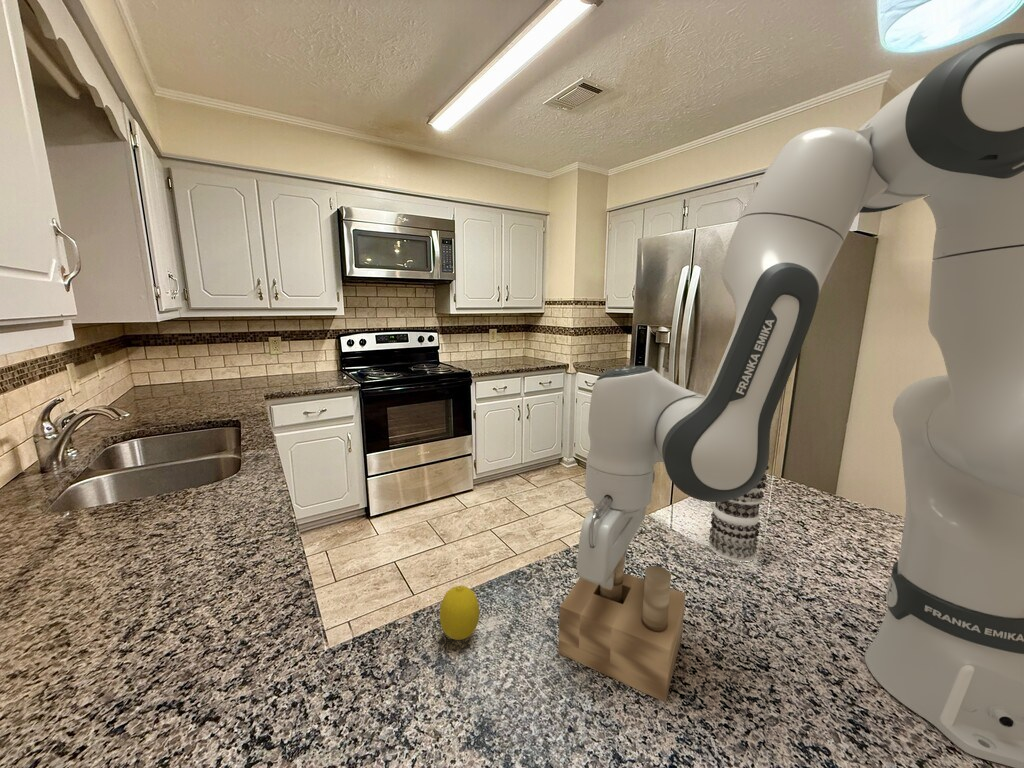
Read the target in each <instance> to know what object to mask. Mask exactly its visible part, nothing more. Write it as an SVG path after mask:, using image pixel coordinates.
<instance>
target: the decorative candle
mask: <svg viewBox="0 0 1024 768" xmlns="http://www.w3.org/2000/svg"><path fill="white" fill-rule="evenodd" d="M768 470H770V466H769V465H768V466H767V469H766V471H768ZM767 479H768V477H767V475H766V473H765V474H764V476H763V478H762V479H761V481H760V482H759V483H758V484H757V485H756V486H755V487H754V488H753V489H752V490H751V491H749V492H748V493H746V494H745V495H743V496H741V497H739V498H736V499H733V500H729V501H724V502H714V504H713V511H712V513H710V516H711V520H710V524H711V527H710V528H709V534H710V535H709V536H708V539H709V543H708V546H709V545H710V548H711V549H712V550H713V551H714V552H715V553H716V554H718V555H720V556H721V557H724V558H726V559H725V560H727V559H729V560H728V561H730V560H734V561H739V562H740V561H741V562H745V561H751V560H754V559H755V558H757V552H758V551H757V550H758V549H759V548H758V545H759V539H758V538H757V537H759V534H760V531H759V529H760V528H761V523H760V522H759V521H760V511H759V510H760V504H762V502H763V500H764V497H765V495H764V494H765V493H764V492H763V491H761V490H762V489H765V488H766V486H767V483H765V482H764V481H766V480H767ZM710 548H709V549H710ZM716 554H715V555H716ZM718 555H717V556H718ZM720 556H719V557H720ZM721 557H720V558H721ZM724 558H723V559H724ZM755 560H756V559H755ZM734 561H733V562H734ZM739 562H738V563H739Z"/></svg>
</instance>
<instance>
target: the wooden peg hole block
mask: <svg viewBox="0 0 1024 768" xmlns="http://www.w3.org/2000/svg"><path fill="white" fill-rule="evenodd" d="M644 573H645V574H644V579H643V578H640V577H637V576H634V575H631V574H628V573H625V572H623V584H622V599H621V604H620V603H617V602H615V601H612V600H609V599H606V598H604V597H601V596H600V585H598V584H595V583H592V582H589V581H587V580H584V579H582V578H580V577H579V579H578V580H577V582H576V583H575V584H574V586H573V587H572V588H571V590H570V591H569V593H568V594H567V595H566V597H565V599H563V601H562V603H561V604H560V606H559V617H558V618H559V619H558V645H557V648H558V649H557V653H558V654H559V655H561V656H564V657H566V658H568V659H570V660H572V661H575V662H577V663H579V664H581V665H583V666H585V667H588V668H590V669H592V670H594V671H596V672H598V673H600V674H602V675H605V676H606V677H609V678H611V679H614V680H615V681H617V682H619V683H622V684H625V685H626V686H629V687H631V688H633V689H635V690H637V691H639V692H642V693H644V694H646V695H648V696H651V697H653V698H655V699H657V700H659V701H661V702H664V703H667V699H668V694H669V690H670V687H671V682H672V678H673V674H674V669H675V667H676V666H675V665H676V662H677V658H678V653H679V649H680V646H681V642H682V639H683V638H682V636H683V627H684V626H683V625H684V613H685V601H686V592H683V591H680V590H677V589H673V588H672V587H671V581H672V580H671V579H672V573H671V572H670V570H668V569H666V568H665V567H663V566H659V565H649V566H647V567H645V572H644Z"/></svg>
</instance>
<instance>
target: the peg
mask: <svg viewBox="0 0 1024 768" xmlns="http://www.w3.org/2000/svg"><path fill="white" fill-rule="evenodd" d="M624 554H625V553H624ZM624 554H623V556H622V558H621V559H620V561H619V563H618V564H617V566H616V568H615V569H614V573H616V579H615V580H616V582H615V585H614V586H613V588H612V589H611V590H608V589H606V588H603V587H601V586H600V596H601V597H604V598H606V599H609V600H612V601H615V602H617V603H620V604H621V599H622V584H623V573H624V568H625V567H624Z"/></svg>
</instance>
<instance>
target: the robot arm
mask: <svg viewBox="0 0 1024 768" xmlns="http://www.w3.org/2000/svg"><path fill="white" fill-rule="evenodd" d="M921 198H923V201H924V202H925V203H926V204H927V206H928V207H929V210H931V212H932V215H933V219H934V222H935V223H934V224H935V228H936V229H935V235H934V240H933V241H934V242H933V249H932V251H933V253H932V261H931V274H930V276H931V277H930V292H929V307H928V321H927V322H928V328H929V333H930V334H931V336H932V337H933V338H934V339H935V341H936V343H937V345H938V347H939V349H940V353H941V355H942V358H943V363H944V365H945V370H946V374H945V375H938V376H932V377H928V378H923V379H920V380H917V381H915V382H913V383H910V384H909V385H907V386H906V387H905V388H904V389H902V390H901V391H900V393H899V394H898V395H897V396H896V398H895V400H894V403H893V407H892V416H893V420H894V423H895V424H896V425H895V426H896V428H897V430H898V433H899V436H900V437H899V438H900V444H901V458H902V468H903V479H904V489H905V514H904V515H905V517H904V523H903V530H902V535H901V536H902V537H901V542H900V547H899V556H898V560H897V561H895V562H894V563H893V565H892V568H891V574H890V576H889V578H888V583H887V588H886V598H885V599H886V606H887V609H886V612H885V615H884V618H883V620H882V623H881V624H880V627H879V630H878V631H877V634H876V636H875V637H874V639H873V641H872V642H871V644H870V645H869V646H868V647H867V649H866V650H865V653H864V661H865V665H866V666H867V669H868V670H869V672H870V673H871V675H872V676H873V678H874V679H875V680H876V681H877V683H879V685H881V687H882V688H884V690H886V691H887V693H889V694H890V695H891V696H893V697H894V699H896V700H897V701H899V702H900V703H901V704H903V705H904V706H906V707H907V708H909V709H910V710H911V711H913V712H914V713H916V714H917V715H919V716H920V717H922V718H923V719H925V720H926V721H927V722H929V723H930V724H932V725H933V726H935V728H937V729H938V730H939V731H940V732H941V733H942V734H943V735H944V736H945V737H946V738H947V739H948V740H950V741H951V742H952V743H953V744H955V746H956V747H958V748H959V749H961V750H962V751H963V752H965V753H966V754H968V755H971V756H974V757H976V758H979V759H983V760H986V761H990V762H993V763H997V764H1001V765H1003V766H1006V767H1007V766H1008V767H1011V768H1024V32H1012V33H1006V34H1000V35H998V36H995V37H991V38H989V39H987V40H984V41H980V42H978V43H976V44H973V45H971V46H969V47H967V48H966V49H963V50H962V51H960V52H958V53H956V54H954V55H952V56H950V57H948V58H947V59H945V60H944V61H942V62H940V63H939V64H938V65H937V66H935V67H934V68H933V69H932V70H931V71H930V72H929V73H928V74H926V75H925V76H924V77H922V78H920V79H919V80H917V81H916V82H915V83H913V84H911V85H910V86H909V87H907V88H906V89H904V90H903V91H901V92H900V93H898V94H897V95H896V96H894V97H893V98H892V99H891V100H889V101H888V102H886V103H885V105H883V106H882V107H881V108H880V109H879V110H878V111H877V113H876V114H875V115H873V116H872V117H871V118H869V120H867V121H866V122H865V123H864V124H863V125H861V127H859V128H858V129H857V130H853V129H851V128H850V129H849V128H846V127H840V126H823V127H821V126H820V127H816V128H815V127H814V128H812V129H811V128H810V129H809V130H805V131H803V132H801V133H799V134H796V135H795V136H794V137H792V138H791V139H790V140H788V142H787V143H785V144H784V146H783V147H782V148H781V149H780V150H779V151H778V153H777V155H776V156H775V157H774V159H773V160H772V161H771V163H770V164H769V166H768V168H767V169H766V171H765V172H764V173H763V175H762V176H761V178H760V180H759V181H758V184H757V185H756V187H755V189H754V191H753V192H752V194H751V196H750V198H749V199H748V200H747V203H746V205H745V207H744V209H743V212H742V214H741V215H740V218H739V219H738V222H737V224H736V226H735V229H734V231H733V233H732V236H731V238H730V240H729V243H728V246H727V249H726V253H725V256H724V260H723V264H722V267H721V279H722V282H723V285H724V287H725V289H726V291H727V292H728V294H729V295H730V297H732V301H733V304H734V308H735V321H734V327H733V330H732V334H731V337H730V339H729V341H728V344H727V346H726V348H725V351H724V353H723V356H722V358H721V361H720V363H719V365H718V368H717V370H716V372H715V375H714V376H713V379H712V382H711V384H710V387H709V388H708V389H709V390H708V391H707V393H706V395H704V394H702V393H698V392H696V391H692V390H690V389H687V388H685V387H682V386H681V385H678V384H676V383H675V382H673V381H671V380H669V379H667V378H666V377H665V376H663V375H661V374H660V373H659V372H658V371H656V370H655V368H653V367H652V366H651V367H650V366H648V365H628V366H621V367H620V366H619V367H616V368H615V367H614V368H612V369H609V370H606V371H605V372H603V373H601V374H600V375H599V376H598V377H597V379H596V380H595V382H594V384H593V387H592V392H591V396H590V401H589V404H590V405H589V410H588V411H589V413H588V425H587V426H588V427H587V431H588V435H589V441H590V445H589V451H588V453H587V456H586V464H585V465H586V467H585V468H586V469H585V485H584V486H585V487H584V488H585V490H584V493H585V496H586V497H587V499H589V500H590V501H591V502H592V503H593V508H592V509H591V511H589V513H588V514H587V515H586V516H585V518H583V519H584V520H583V521H582V525H581V529H580V534H579V539H578V540H579V541H578V549H577V560H576V562H577V563H576V572H577V574H578V577H579V579H580V578H582V579H584V580H587V581H589V582H592V583H595V584H598V585H600V586H601V587H603V588H606V589H608V590H611V589H612V588H613V586H614V585H615V582H616V580H615V579H616V573H614V569H615V568H616V566H617V564H618V563H619V561H620V559H621V558H622V556H623V554H624V553H625V554H624V568H625V567H626V557H627V553H628V550H629V546H630V544H631V543H632V541H633V539H634V537H635V536H636V534H637V533H638V530H639V529H640V527H641V526H642V524H643V522H644V519H645V516H646V514H647V507H648V506H649V505H650V504H651V503H652V499H653V498H652V497H653V485H654V483H655V477H656V471H655V465H656V464H657V463H663V464H664V467H665V471H666V473H667V475H668V478H669V479H670V481H671V482H672V483H673V484H674V486H675V487H676V488H677V489H678V490H680V491H681V492H682V493H683V494H685V495H687V496H688V497H691V498H693V499H695V500H699V501H703V502H709V503H716V502H724V501H729V500H733V499H736V498H739V497H741V496H743V495H745V494H746V493H748V492H749V491H751V490H752V489H753V488H754V487H755V486H756V485H757V484H758V483H759V482H760V481H761V479H762V478H763V476H764V474H765V475H766V471H767V470H766V469H767V466H769V460H770V445H771V444H770V440H771V439H770V438H771V428H772V423H773V420H774V417H775V414H776V413H775V412H776V410H777V407H778V405H779V402H780V400H781V397H782V395H783V393H784V391H785V387H786V385H787V384H788V381H789V378H790V376H791V374H792V372H793V369H794V367H795V364H796V361H797V359H798V357H799V355H800V352H801V350H802V347H803V345H804V342H805V340H806V338H807V335H808V332H809V330H810V327H811V324H812V322H813V319H814V315H815V313H816V310H817V309H816V308H817V305H818V301H819V299H820V294H821V291H822V288H823V285H824V283H825V281H826V278H827V277H828V274H829V273H830V270H831V268H832V266H833V264H834V262H835V260H836V258H837V256H838V254H839V252H840V250H841V248H842V246H843V245H844V242H845V240H846V238H847V235H848V234H849V232H850V230H851V228H852V227H853V223H854V221H855V218H856V217H857V216H859V214H860V213H861V214H863V213H864V214H869V213H879V212H884V211H888V210H892V209H894V208H897V207H899V206H901V205H903V204H906V203H910V202H912V201H916V200H918V199H921Z"/></svg>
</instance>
